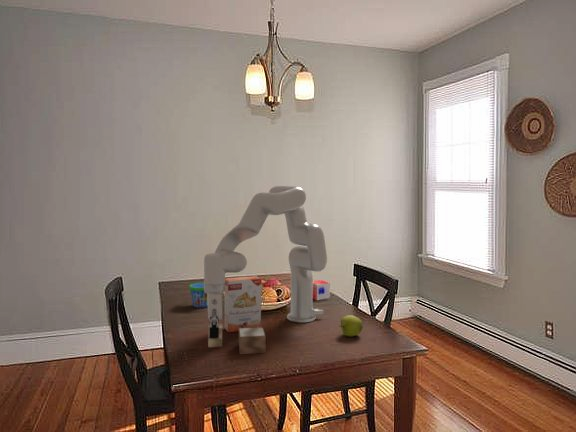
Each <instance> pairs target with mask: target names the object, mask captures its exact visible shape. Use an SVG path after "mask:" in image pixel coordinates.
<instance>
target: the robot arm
mask: <svg viewBox="0 0 576 432" xmlns="http://www.w3.org/2000/svg"><path fill="white" fill-rule="evenodd" d="M306 198H307V195H306V192H305V191H304V189H303V188H302V187H300V186H287V185H277V186H273V187H271V188H270V189H269V192H257V193H256V194H255V195H254V196H253V197H252V198H251V200H250V202H249V204H248V206H247V207H246V209H245V211H244V213H243V215H242V217H241V219H240V221H239V223H238V224H236V226H235V227H233V228H232V229H231V230H230V231H228V232H227V233H226V234H225V236H224V235H223V237H222V239H221V240H220V242H219V243H218V245H217V248H216V249H215V251H214V253H213V252H212V253H207V254H205V255H204V257H203V269H204V270H203V283H204V292H205V293H207V305H208V306H207V317H208V321H209V324H210V338H219V327H218V324H220V321H222V320H223V294H224V293H225V278H226V273H234V274H235V273H236V274H237V273H241V272H242V271H243V270H245V269H246V266H247V264H248V262H247V258H246V256H245V255H244V254H242V253H241V252H237V251H235V250H236V249H237V247H238V246H239V245H241V243H243V242H245V241H247V240H249V239H252V238H254V237H256V236H258V235H259V233H260V232H261V230H262V228H263V226H264V224H265V222H266V220H267V218H268V216H280V215H284V216H285V221H286V228H287V236H288V239H289V241H290V242H291V244H294V245H297V246H294V247H292V248H291V250H290V251H289V253H288V264H289V270H290V312H289V313H288V314H287V316H286V319H287V320H288V321H290V322H294V323H311V322H314V321H315V320H316V319H317V315H324V309H319V308H314V307H313V300H314V299H313V281H314V278H313V274H312V272H315V273H316V272H319V273H320V272H321V271H323V270H324V269H325V268H326V266H327V261H328V255H327V247H326V241H325V235H324V234H325V233H324V231H323V229H322V228H321V227H320V226H319V225H318V224H315V223H309V222H308V220H307V216H306V211H305V208H304V204H305V202H306ZM298 245H299V246H298ZM216 324H217V327H216Z"/></svg>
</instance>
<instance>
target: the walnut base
mask: <svg viewBox="0 0 576 432" xmlns="http://www.w3.org/2000/svg"><path fill="white" fill-rule="evenodd" d="M266 338H267V337H266V333H265V330H264V327H262V326H261V327H259V328H239V331H238V348H239V350H238V351H239V354H240V355H246V354H247V355H248V354H265V353H267V351H266V349H267V348H266V343H267V341H266Z"/></svg>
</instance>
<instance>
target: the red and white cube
mask: <svg viewBox="0 0 576 432" xmlns="http://www.w3.org/2000/svg"><path fill="white" fill-rule="evenodd" d="M330 285H331V284H330V282H328V281H325V280H323V279H319V280H318V279H317V280H313V300H314V301H319V300H326V299H330V296H331V295H330V294H331V293H330V291H331V290H330V288H331V286H330Z"/></svg>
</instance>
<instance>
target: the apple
mask: <svg viewBox="0 0 576 432" xmlns="http://www.w3.org/2000/svg"><path fill="white" fill-rule="evenodd" d="M339 328H341V330H342V331H341V332H342V333H343V334H344V335H345V336H346V337H355V336H357V335H359V334H360V333H361V332H362V331H363V328H364V326H363V321H362V320H361V319H360V318H359V317H357V316H355V315H352V314H351V315H350V314H349V315H348V314H347V315H344V316H343V317H342V319H341V320H340V325H339Z"/></svg>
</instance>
